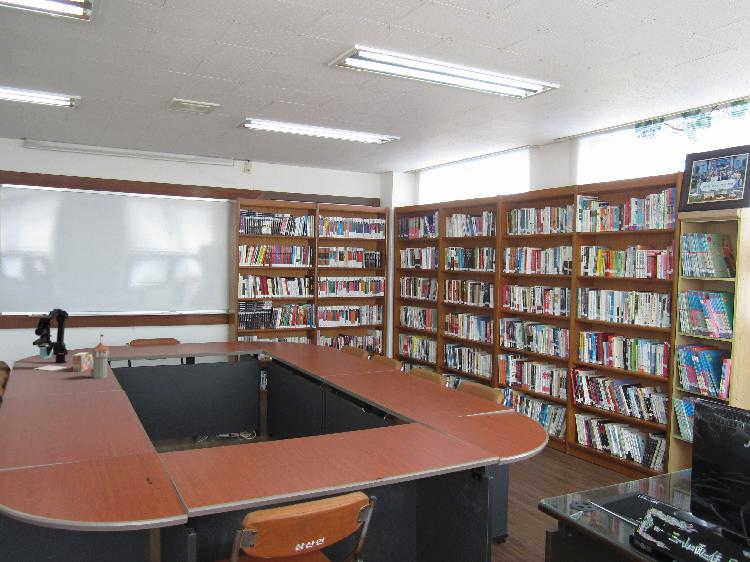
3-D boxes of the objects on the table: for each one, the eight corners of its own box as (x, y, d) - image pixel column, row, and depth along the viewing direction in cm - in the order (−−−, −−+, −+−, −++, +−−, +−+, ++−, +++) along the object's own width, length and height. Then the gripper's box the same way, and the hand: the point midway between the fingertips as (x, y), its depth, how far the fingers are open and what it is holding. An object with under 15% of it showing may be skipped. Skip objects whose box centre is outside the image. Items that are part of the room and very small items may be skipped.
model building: (100, 379, 402) (100, 335, 401) (84, 378, 404) (84, 334, 403) (113, 375, 415) (113, 333, 414) (98, 374, 418) (98, 332, 417)
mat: (48, 366, 446) (48, 365, 446) (66, 367, 442) (66, 366, 442) (33, 369, 432) (33, 368, 432) (51, 370, 428) (51, 370, 428)
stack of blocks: (85, 366, 448) (85, 350, 447) (93, 366, 448) (93, 350, 448) (72, 372, 426) (72, 354, 426) (81, 372, 427) (81, 355, 426)
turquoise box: (47, 357, 442) (47, 346, 441) (51, 357, 441) (51, 346, 440) (39, 358, 435) (39, 347, 434) (44, 358, 434) (44, 348, 433)
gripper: (26, 334, 432) (26, 356, 432) (47, 336, 427) (47, 357, 427) (38, 332, 442) (38, 353, 443) (59, 334, 438) (59, 355, 438)
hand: (45, 355), depth 438 cm, fingers closed on turquoise box, 4 cm apart
